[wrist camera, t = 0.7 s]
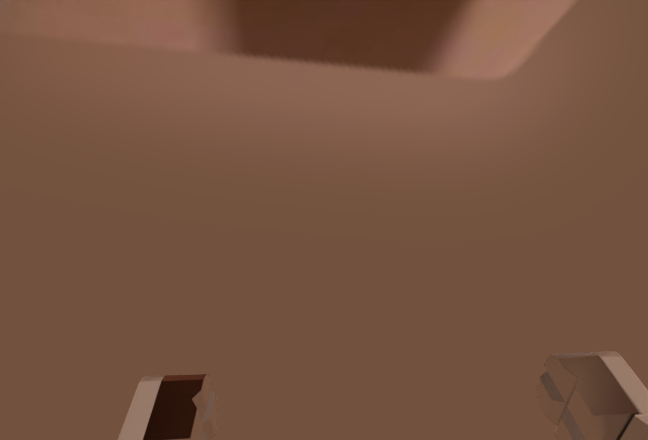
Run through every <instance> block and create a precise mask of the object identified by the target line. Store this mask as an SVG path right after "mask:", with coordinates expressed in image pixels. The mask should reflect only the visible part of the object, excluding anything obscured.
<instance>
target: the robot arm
mask: <svg viewBox="0 0 648 440" xmlns="http://www.w3.org/2000/svg"><path fill="white" fill-rule="evenodd" d="M544 366H545V367H546V369H547V372H545V373H544V374H543V375H541V376H540V377H539V381H538V384H537V394H538V400H539V403H540V406H541V409H542V411H543V412H544V415H545V417H547V418H548V419H549V420H551V421H552V422H553V423H554V424H556V430H555V437H556V439H557V440H648V390H647V389H646V388H645V386H644V385H643V384H642V382H641V381H640V380H639V379H638V377H637V376H636V375H635V373H634V372H633V371H632V370H631V368H630V367H629V366H628V364H627V363H626V362H625V360H624V359H623V358H622V356H621V355H619V354H618V353H616V352H614V351H609V352H593V353H591V352H583V353H569V354H555V355H550V356H549V357H547V359H546V361H545V364H544ZM211 385H212V382H211V379H210V376H209V374H200V375H199V374H198V375H167V376H165V375H164V376H144V377H143V378H142V380H141V381H140V382H139V384H138V386H137V389H136V392H135V395H134V397H133V400H132V403H131V405H130V409H129V411H128V414H127V416H126V419H125V421H124V424H123V427H122V430H121V432H120V435H119V438H118V440H211V439H212V438H213V437H214V436H215V432H216V426H217V412H218V410H217V400H216V396H215V394H213V393H212V392H210V390H211Z"/></svg>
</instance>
